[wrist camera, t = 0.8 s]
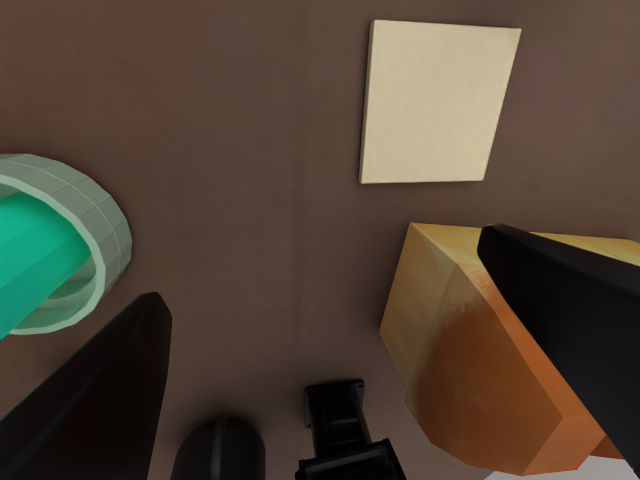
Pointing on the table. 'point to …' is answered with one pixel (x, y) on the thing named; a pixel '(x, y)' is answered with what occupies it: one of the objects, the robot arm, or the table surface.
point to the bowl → (89, 220)
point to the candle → (33, 255)
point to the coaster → (433, 100)
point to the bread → (484, 359)
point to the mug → (221, 453)
